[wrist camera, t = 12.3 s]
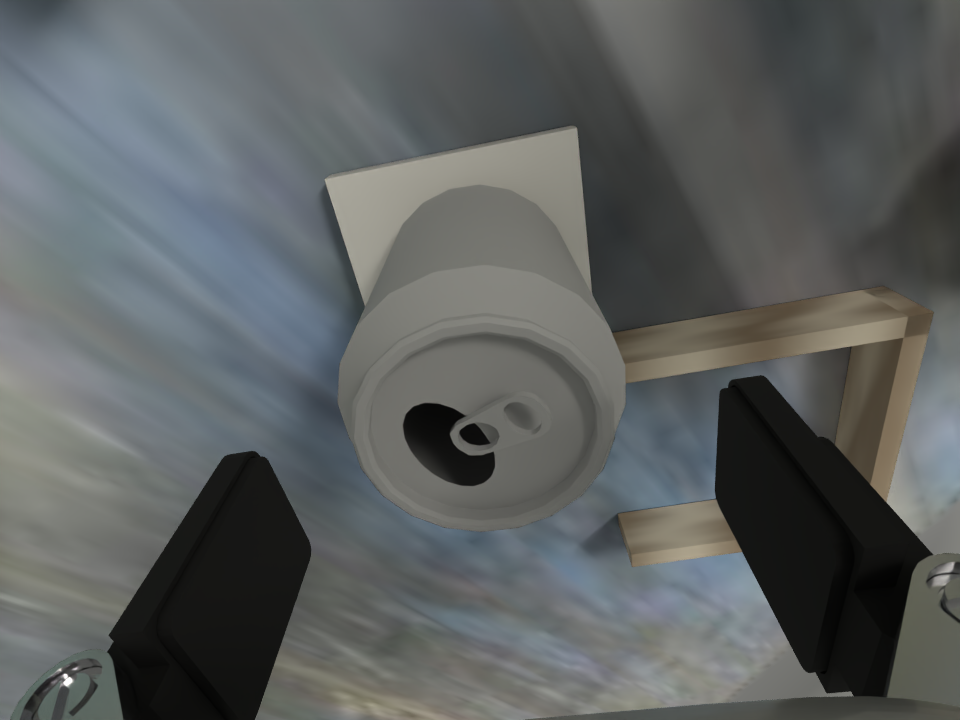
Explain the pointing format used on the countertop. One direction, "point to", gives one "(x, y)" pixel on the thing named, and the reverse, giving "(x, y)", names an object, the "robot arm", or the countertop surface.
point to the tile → (408, 183)
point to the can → (481, 367)
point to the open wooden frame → (770, 335)
